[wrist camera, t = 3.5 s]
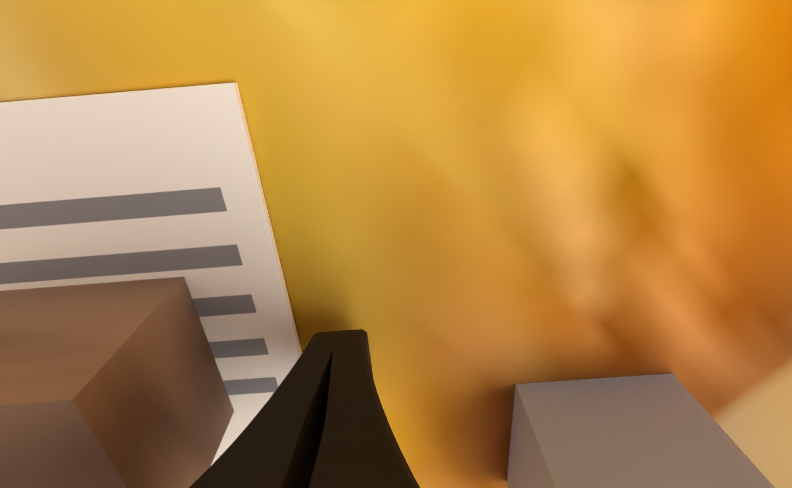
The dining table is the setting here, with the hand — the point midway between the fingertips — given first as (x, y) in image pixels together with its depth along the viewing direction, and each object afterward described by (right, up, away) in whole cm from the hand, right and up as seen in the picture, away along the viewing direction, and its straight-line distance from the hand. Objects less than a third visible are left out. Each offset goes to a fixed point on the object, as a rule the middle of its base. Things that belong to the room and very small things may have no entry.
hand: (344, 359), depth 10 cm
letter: (-6, 0, +1) cm, 7 cm away
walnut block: (-6, 0, +1) cm, 7 cm away
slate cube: (+8, -3, +3) cm, 9 cm away
